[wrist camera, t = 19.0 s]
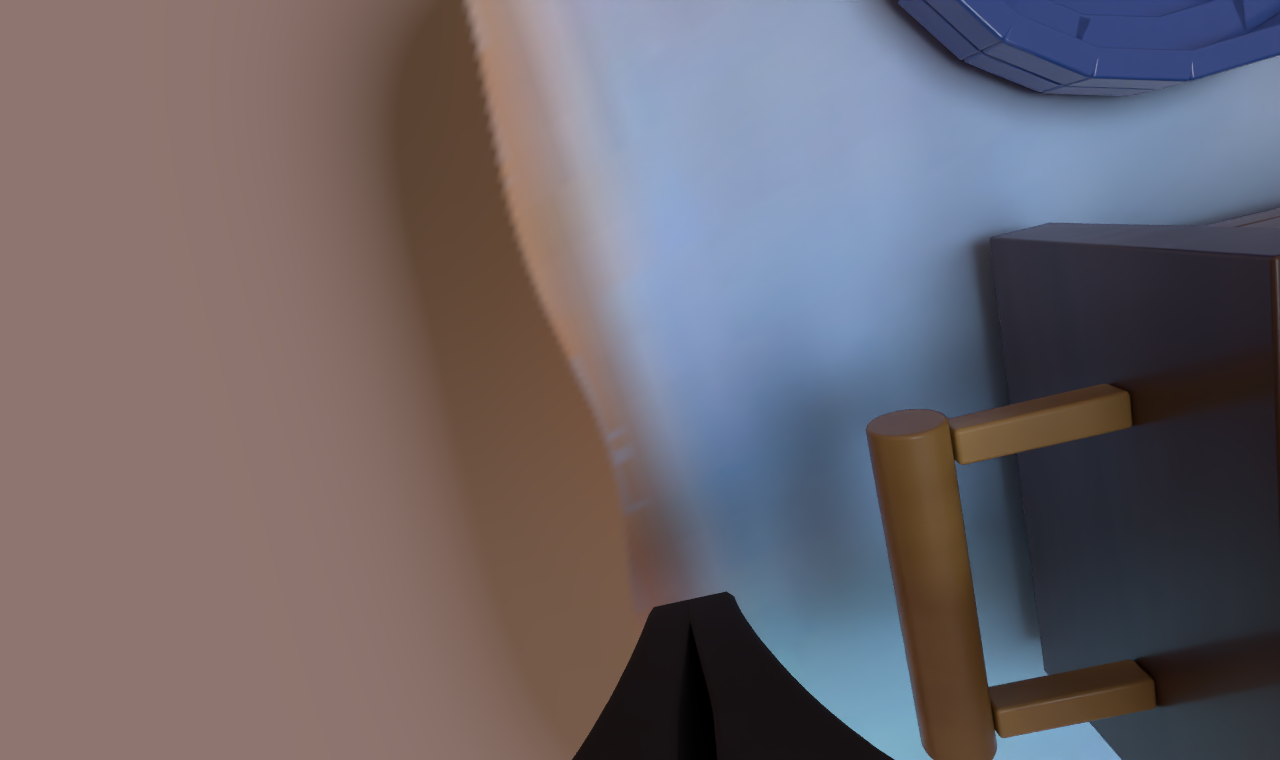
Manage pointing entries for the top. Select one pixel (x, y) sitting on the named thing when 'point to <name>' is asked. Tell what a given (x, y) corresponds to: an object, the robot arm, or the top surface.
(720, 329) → the top surface
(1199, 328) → the drawer
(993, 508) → the top surface
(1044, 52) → the blue saucer
